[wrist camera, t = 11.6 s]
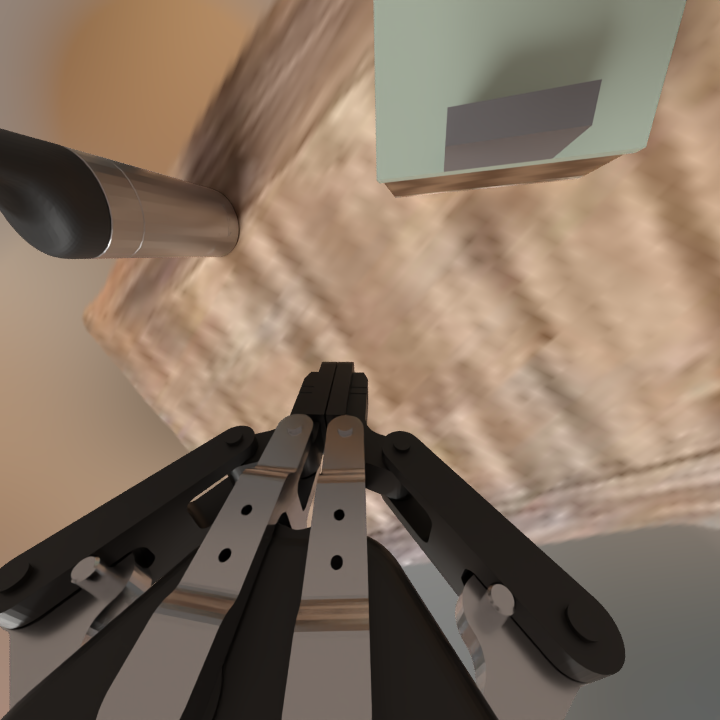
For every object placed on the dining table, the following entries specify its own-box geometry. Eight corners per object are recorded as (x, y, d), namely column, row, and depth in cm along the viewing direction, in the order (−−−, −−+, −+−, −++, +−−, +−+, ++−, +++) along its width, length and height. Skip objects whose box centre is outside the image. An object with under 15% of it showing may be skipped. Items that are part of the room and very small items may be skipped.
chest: (395, 197, 33) (383, 181, 26) (396, -13, 26) (380, -114, 19) (578, 178, 28) (627, 152, 21) (634, -87, 21) (734, -261, 14)
